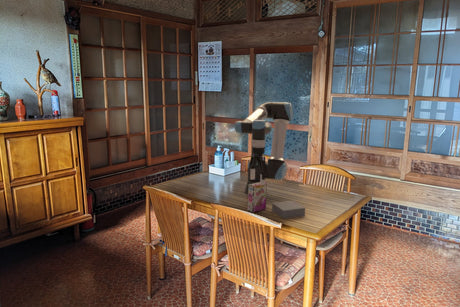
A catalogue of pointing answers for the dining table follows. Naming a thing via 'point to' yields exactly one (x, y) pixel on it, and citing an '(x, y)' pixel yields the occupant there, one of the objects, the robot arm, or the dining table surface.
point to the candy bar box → (256, 197)
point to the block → (288, 209)
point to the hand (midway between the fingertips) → (257, 182)
